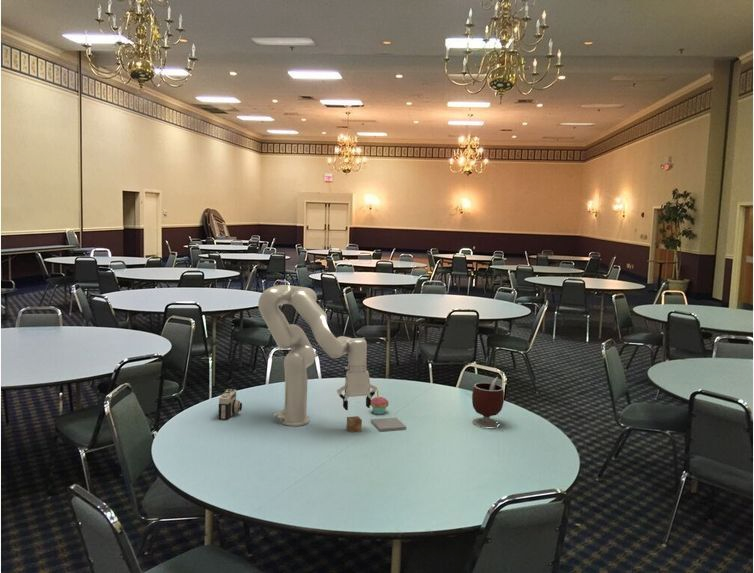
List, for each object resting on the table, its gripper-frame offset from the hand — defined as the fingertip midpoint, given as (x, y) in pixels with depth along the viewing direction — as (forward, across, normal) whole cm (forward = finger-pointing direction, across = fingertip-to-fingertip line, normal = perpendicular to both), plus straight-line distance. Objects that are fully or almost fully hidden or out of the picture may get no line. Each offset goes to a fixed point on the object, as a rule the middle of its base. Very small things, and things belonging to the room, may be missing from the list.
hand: (356, 408), depth 246 cm
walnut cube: (+10, -1, +1) cm, 10 cm away
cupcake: (+10, +17, +20) cm, 28 cm away
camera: (+8, -48, +30) cm, 57 cm away
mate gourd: (+12, +60, -4) cm, 61 cm away
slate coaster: (+10, +15, +2) cm, 18 cm away
